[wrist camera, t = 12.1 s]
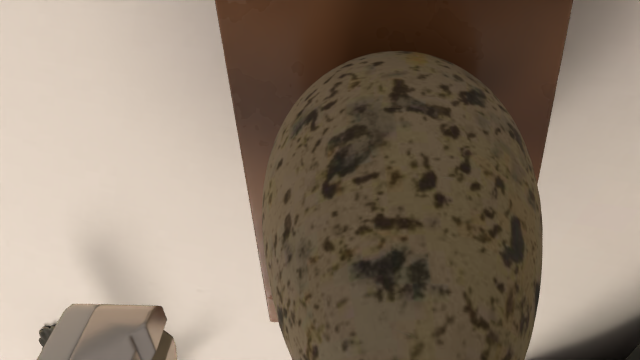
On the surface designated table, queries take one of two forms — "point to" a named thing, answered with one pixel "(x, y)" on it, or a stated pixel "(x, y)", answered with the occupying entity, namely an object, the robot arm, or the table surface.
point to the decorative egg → (402, 217)
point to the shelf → (381, 36)
